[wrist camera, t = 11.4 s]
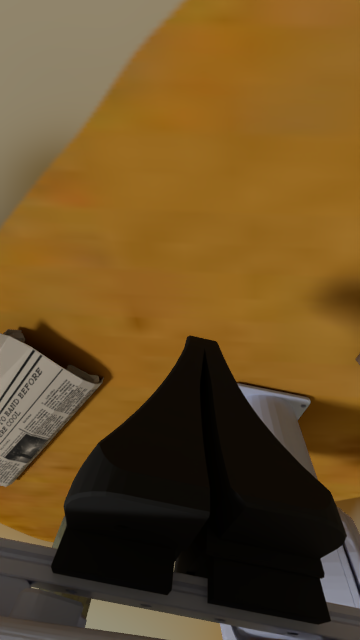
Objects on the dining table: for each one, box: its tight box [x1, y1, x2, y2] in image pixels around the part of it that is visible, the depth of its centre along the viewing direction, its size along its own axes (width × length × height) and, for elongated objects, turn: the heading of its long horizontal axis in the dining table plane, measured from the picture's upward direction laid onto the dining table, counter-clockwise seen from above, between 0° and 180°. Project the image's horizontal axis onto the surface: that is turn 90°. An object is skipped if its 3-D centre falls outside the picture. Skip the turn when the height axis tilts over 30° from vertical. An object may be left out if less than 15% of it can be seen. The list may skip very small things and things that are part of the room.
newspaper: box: [0, 329, 104, 486], centre depth 32 cm, size 35×12×4 cm, turn 142°
